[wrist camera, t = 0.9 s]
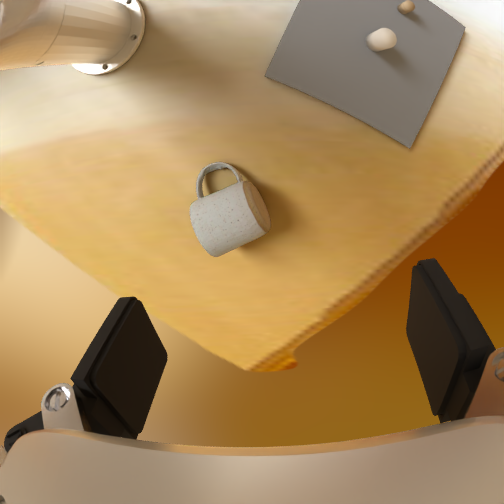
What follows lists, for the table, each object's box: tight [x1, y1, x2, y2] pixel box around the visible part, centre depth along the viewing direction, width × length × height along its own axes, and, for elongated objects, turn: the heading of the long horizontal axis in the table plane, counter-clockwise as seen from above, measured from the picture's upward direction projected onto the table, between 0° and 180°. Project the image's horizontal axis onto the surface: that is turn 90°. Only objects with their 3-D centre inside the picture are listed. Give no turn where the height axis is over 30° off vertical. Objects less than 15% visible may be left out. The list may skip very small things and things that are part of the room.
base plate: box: [265, 0, 466, 149], centre depth 28 cm, size 20×20×6 cm
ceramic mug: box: [190, 162, 271, 257], centre depth 39 cm, size 11×8×8 cm
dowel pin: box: [397, 0, 415, 14], centre depth 26 cm, size 1×1×2 cm
